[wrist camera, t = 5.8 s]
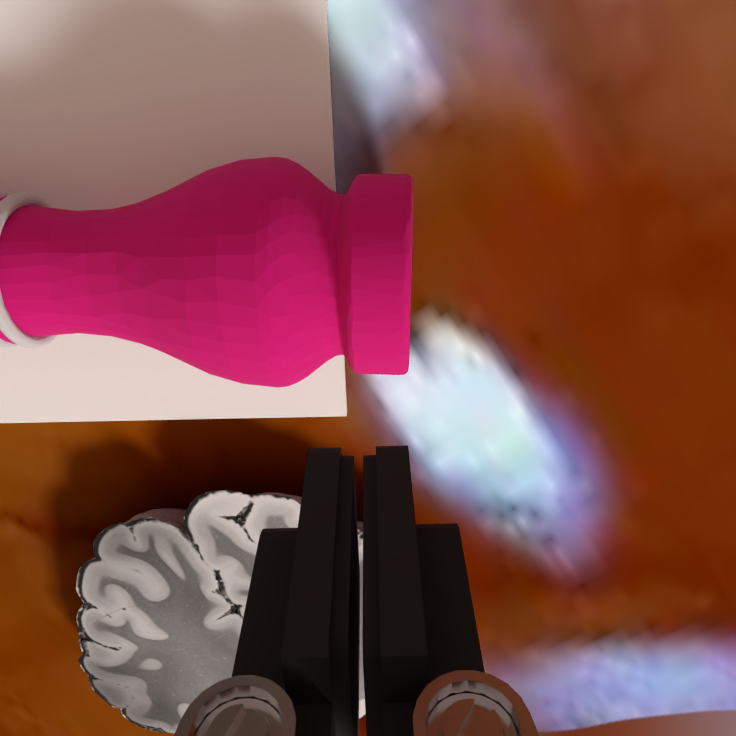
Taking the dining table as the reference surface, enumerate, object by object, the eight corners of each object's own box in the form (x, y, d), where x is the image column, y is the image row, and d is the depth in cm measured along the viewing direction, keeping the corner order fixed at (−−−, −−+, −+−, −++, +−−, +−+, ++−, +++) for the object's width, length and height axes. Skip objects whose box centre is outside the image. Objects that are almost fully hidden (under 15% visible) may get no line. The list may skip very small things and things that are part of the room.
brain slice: (379, 399, 28) (380, 439, 26) (484, 640, 36) (493, 690, 34) (6, 517, 32) (-27, 563, 29) (174, 714, 40) (161, 764, 37)
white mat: (-301, 2, 21) (-315, 3, 20) (325, -16, 20) (324, -16, 20) (-106, 418, 29) (-114, 425, 28) (346, 409, 28) (346, 416, 28)
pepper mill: (412, 153, 23) (-134, 151, 24) (414, 163, 16) (-348, 159, 17) (407, 348, 25) (-87, 339, 26) (408, 428, 18) (-258, 411, 20)
